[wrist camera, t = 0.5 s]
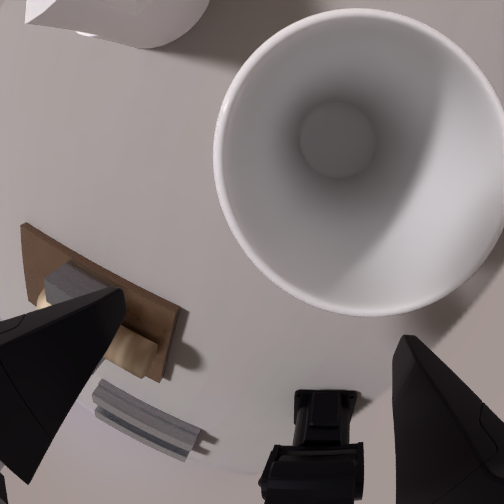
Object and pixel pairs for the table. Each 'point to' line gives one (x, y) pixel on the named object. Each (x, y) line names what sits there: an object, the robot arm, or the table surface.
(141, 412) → the v block
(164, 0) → the white stepped block
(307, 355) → the table surface
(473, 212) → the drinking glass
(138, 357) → the wooden axle
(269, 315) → the table surface
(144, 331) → the brown board with blocks
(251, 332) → the table surface
